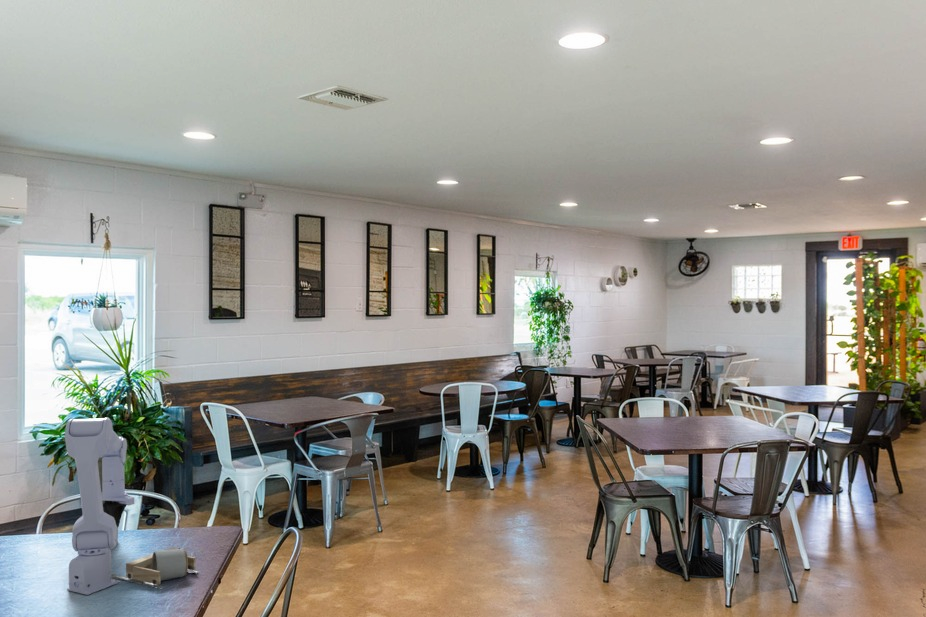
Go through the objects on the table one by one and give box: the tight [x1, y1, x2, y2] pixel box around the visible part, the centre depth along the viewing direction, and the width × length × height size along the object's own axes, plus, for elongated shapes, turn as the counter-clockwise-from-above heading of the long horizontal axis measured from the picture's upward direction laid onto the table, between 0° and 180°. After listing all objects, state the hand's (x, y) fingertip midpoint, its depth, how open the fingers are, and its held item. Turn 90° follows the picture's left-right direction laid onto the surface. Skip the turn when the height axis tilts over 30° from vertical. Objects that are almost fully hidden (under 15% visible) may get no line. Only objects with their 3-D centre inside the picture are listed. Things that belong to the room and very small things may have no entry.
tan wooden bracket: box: [125, 546, 196, 585], centre depth 203 cm, size 15×12×4 cm
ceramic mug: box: [152, 548, 189, 581], centre depth 202 cm, size 11×8×8 cm
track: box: [111, 570, 199, 589], centre depth 203 cm, size 13×23×1 cm, turn 63°
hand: (114, 527), depth 214 cm, fingers closed
